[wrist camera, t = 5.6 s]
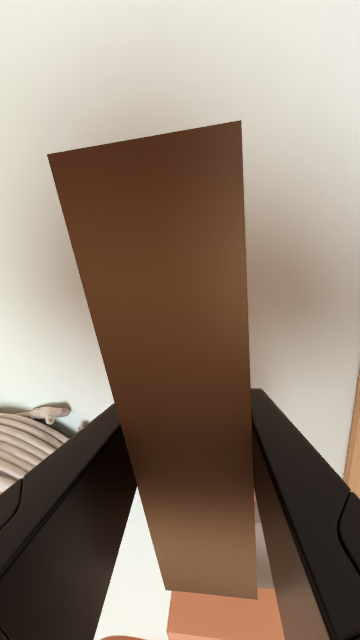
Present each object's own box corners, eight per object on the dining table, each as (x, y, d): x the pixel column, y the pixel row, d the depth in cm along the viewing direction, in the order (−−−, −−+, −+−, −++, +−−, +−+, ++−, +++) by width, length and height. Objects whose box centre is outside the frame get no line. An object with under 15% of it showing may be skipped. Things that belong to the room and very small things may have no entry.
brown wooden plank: (73, 173, 7) (-18, 165, 4) (285, 139, 6) (332, 104, 4) (167, 557, 14) (154, 648, 11) (278, 567, 13) (292, 668, 10)
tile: (271, 487, 23) (297, 648, 15) (271, 502, 24) (296, 663, 16) (185, 484, 24) (166, 631, 16) (187, 498, 25) (170, 646, 17)
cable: (84, 395, 23) (42, 460, 18) (136, 531, 30) (117, 608, 24) (-91, 405, 26) (-172, 463, 21) (-8, 525, 33) (-53, 592, 28)
